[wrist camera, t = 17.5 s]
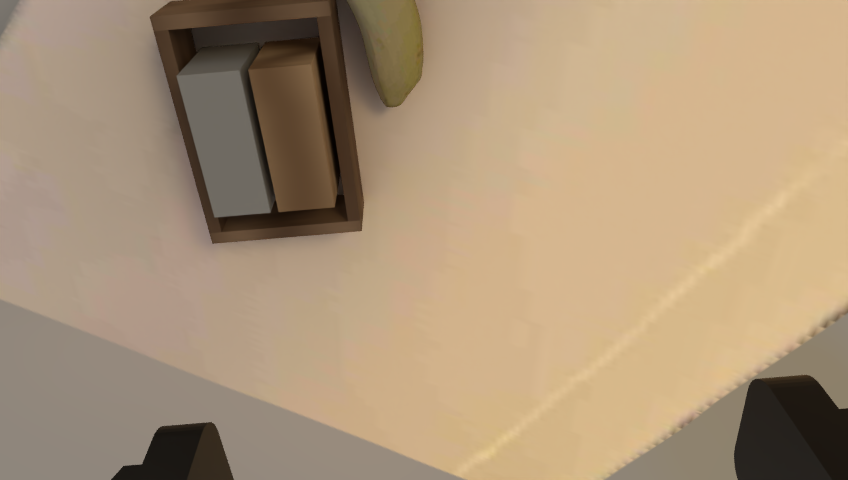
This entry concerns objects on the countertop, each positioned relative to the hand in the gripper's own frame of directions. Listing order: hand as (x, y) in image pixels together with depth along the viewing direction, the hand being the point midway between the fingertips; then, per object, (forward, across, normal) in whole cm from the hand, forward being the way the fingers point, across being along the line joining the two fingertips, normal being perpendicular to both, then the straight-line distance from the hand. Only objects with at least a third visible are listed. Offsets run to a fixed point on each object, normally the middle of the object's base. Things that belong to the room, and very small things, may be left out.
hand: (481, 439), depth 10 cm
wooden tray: (+36, +10, +7) cm, 38 cm away
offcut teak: (+36, +8, +7) cm, 38 cm away
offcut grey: (+36, +12, +7) cm, 39 cm away
